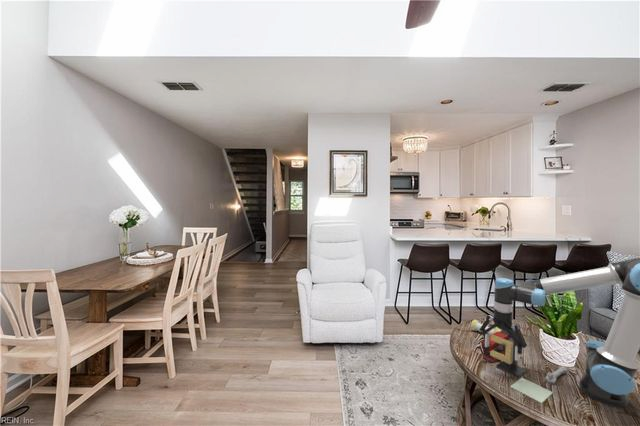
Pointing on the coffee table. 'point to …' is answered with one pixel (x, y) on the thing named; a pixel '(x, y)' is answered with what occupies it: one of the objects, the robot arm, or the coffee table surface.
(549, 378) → the grey bone
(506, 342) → the c link
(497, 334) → the toy gun
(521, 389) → the mat
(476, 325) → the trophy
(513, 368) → the stand
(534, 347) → the coffee table surface
